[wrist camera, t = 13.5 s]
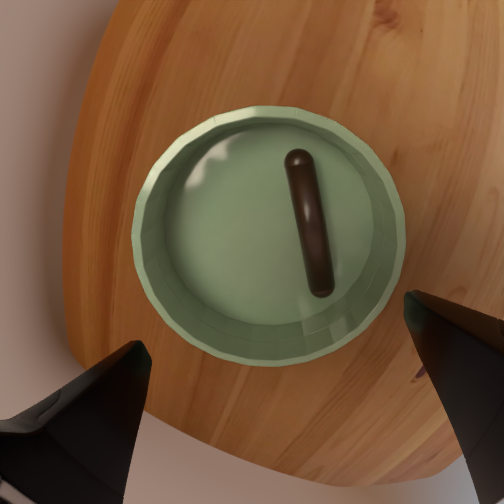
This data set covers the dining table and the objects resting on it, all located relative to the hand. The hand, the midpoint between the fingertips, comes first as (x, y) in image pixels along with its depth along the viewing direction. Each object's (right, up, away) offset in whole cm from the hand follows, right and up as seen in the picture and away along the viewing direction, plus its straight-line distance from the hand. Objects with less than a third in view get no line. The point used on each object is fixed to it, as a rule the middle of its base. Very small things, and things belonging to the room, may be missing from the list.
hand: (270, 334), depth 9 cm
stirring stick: (+3, +4, +8) cm, 9 cm away
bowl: (+1, +4, +10) cm, 11 cm away
